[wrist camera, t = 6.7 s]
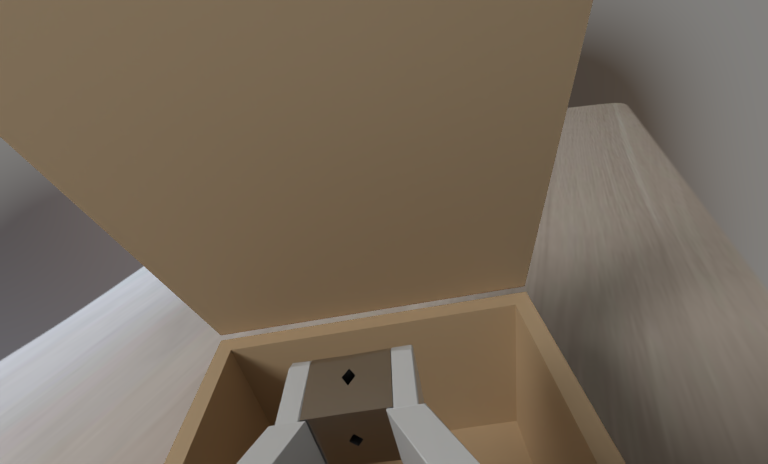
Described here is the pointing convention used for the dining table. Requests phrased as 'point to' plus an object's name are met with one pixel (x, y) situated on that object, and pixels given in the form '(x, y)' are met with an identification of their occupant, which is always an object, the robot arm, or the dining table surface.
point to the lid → (299, 141)
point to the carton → (437, 376)
